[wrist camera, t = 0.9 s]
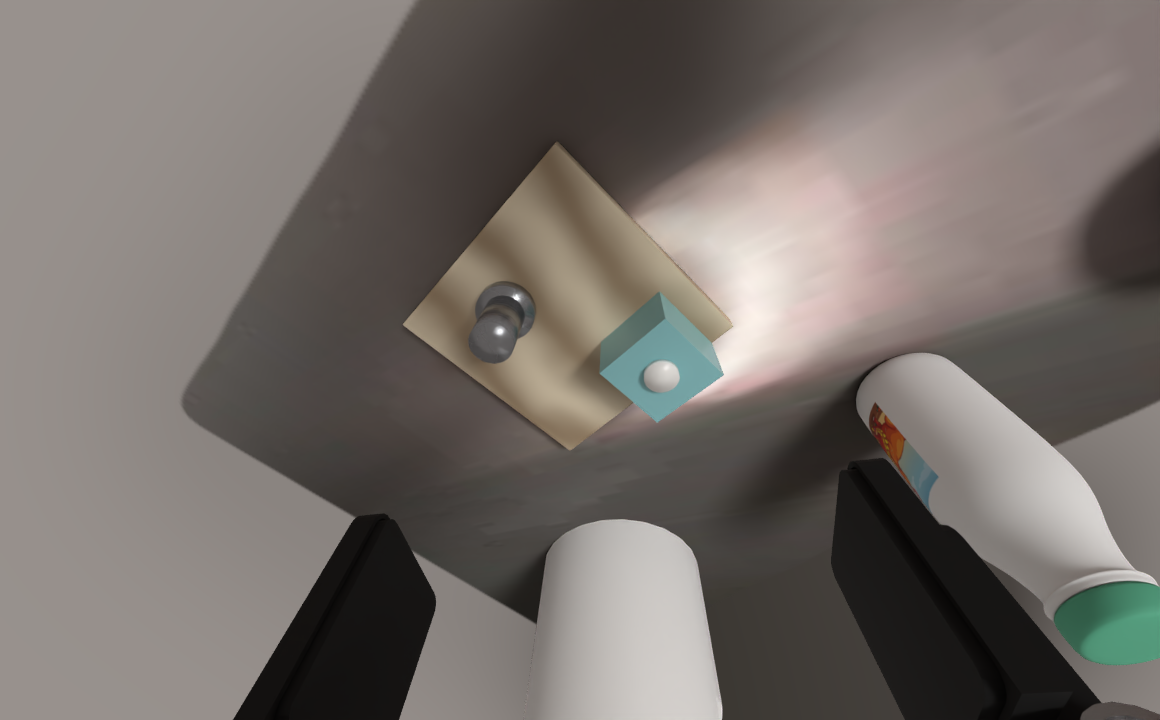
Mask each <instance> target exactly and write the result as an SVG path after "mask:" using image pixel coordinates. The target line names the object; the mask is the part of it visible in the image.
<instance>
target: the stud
mask: <svg viewBox="0 0 1160 720" xmlns="http://www.w3.org/2000/svg"><path fill="white" fill-rule="evenodd" d="M475 315H476V319H477V322H476V324H475V325H474V327H473V329H472V331H471V332H470V334H469V338H468V344H469V348H470V350H471V352H472V353H473V354H474V355H475V356H476V357H477V358H478V359H480V360H482V361H484V362H487V363H492V364H496V363H501V362H504V361H505V360H507V359H508V358H509V357H510V356H511V354H512V352H513V350H514V347H515V344H516V342H517V339H519V338H521V337H523V336H524V335H526V334H527V333H528V332H529V331H530V329H531V328H532V325H533V323H534V320H535V316H536V305H535V301H534V299H533V297H532V296H531V294H530V293H529V292H528V291H527V290H526V289H525V288H523V287H522V286H520V285H518V284H516V283H513V282H509V281H500V282H495V283H493V284H491V285H489V286H488V287H486V288H485V289H484V290H483V292H482V293H481V295H480V297H479V298H478V300H477V302H476V306H475Z"/></svg>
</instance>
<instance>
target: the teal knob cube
mask: <svg viewBox="0 0 1160 720" xmlns="http://www.w3.org/2000/svg"><path fill="white" fill-rule="evenodd" d="M600 374H601V375H602V376H603V377H604V378H605V379H607V380H608V381H609V382H610V383H611V384H613V385H614V386H615V387H616V388H617V389H618V390H620V391H621V392H622V393H623V394H624V395H626V396H627V397H628V398H629V399H630V400H631V401H633V402H634V403H635V404H636V405H637V406H638V407H640V408H641V409H642V410H643V411H644V412H646V413H647V414H648V415H649V416H650V417H651V418H653V419H654V420H655V421H656V422H659V421H660V420H661V419H663V418H664V417H666V416H667V415H668V414H670V413H671V412H673V411H674V410H675V409H677V408H678V407H680V406H681V405H682V404H684V403H685V402H687V401H688V400H689V399H691V398H692V397H694V396H695V395H696V394H698V393H699V392H701V391H702V390H703V389H705V388H706V387H708V386H709V385H710V384H712V383H713V382H715V381H716V380H717V379H719V378H720V377H722V376H723V375H724V374H723V371H722V369H721V366H720V363H719V361H718V358H717V355H716V353H715V350H714V347H713V345H712V343H711V342H710V341H709V340H708V339H707V338H706V337H705V336H704V335H703V334H702V333H701V332H700V331H699V330H698V329H697V328H696V327H695V326H694V325H693V324H692V323H691V322H690V321H689V320H688V319H687V318H686V317H685V316H684V315H683V314H682V313H681V312H680V311H679V310H678V309H677V308H676V307H675V306H674V305H673V304H672V303H671V302H670V301H669V300H668V299H667V298H666V297H665V296H664V295H663V294H662V293H661V292H660V291H659V292H658V293H657V294H656V295H654V296H653V297H652V298H651V299H650V300H649V301H648V302H646V303H645V304H644V305H643V306H642V307H641V308H640V309H638V310H637V311H636V312H635V313H634V314H633V315H631V316H630V317H629V318H628V319H627V320H626V321H625V322H623V323H622V324H621V325H620V326H619V327H618V328H616V329H615V330H614V331H613V332H612V333H611V334H610V335H608V336H607V337H606V338H605V339H604V340H603V341H602V342H601V351H600Z"/></svg>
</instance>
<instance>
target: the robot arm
mask: <svg viewBox="0 0 1160 720" xmlns="http://www.w3.org/2000/svg"><path fill="white" fill-rule="evenodd" d="M831 564H832V568H833V573H834V576H835V578H836V581H837V583H838V584H839V587H840V588H841V591H842V592H843V595H844V597H845V599H846V601H847V603H848V605H849V607H850V609H851V611H852V613H853V615H854V617H855V619H856V621H857V623H858V625H859V627H860V629H861V631H862V633H863V635H864V637H865V639H866V642H867V644H868V646H869V647H870V649H871V652H872V654H873V656H874V658H875V660H876V662H877V664H878V666H879V668H880V670H881V672H882V674H883V676H884V678H885V680H886V682H887V684H888V686H889V688H890V690H891V692H892V694H893V696H894V698H895V700H896V702H897V704H898V707H899V709H900V711H901V713H902V715H903V716H904V718H905V720H1160V714H1157V713H1155V712H1152V711H1149V710H1146V709H1144V708H1141V707H1138V706H1135V705H1129V704H1123V703H1116V702H1107V703H1101V702H1100V701H1099V699H1098V698H1097V697H1096V696H1095V695H1094V693H1093V692H1092V691H1091V690H1090V689H1089V687H1088V686H1087V685H1086V684H1085V683H1084V681H1083V680H1082V679H1081V678H1080V677H1079V675H1078V674H1077V673H1076V672H1075V671H1074V669H1073V668H1072V667H1071V666H1070V665H1069V664H1068V662H1067V661H1066V660H1065V659H1064V657H1063V656H1062V655H1061V654H1060V653H1059V651H1058V650H1057V649H1056V648H1055V647H1054V645H1053V644H1052V643H1051V642H1050V641H1049V640H1048V638H1047V637H1046V636H1045V635H1044V634H1043V632H1042V631H1041V630H1040V629H1039V627H1038V626H1037V625H1036V624H1035V623H1034V621H1033V620H1032V619H1031V618H1030V617H1029V616H1028V614H1027V613H1026V612H1025V611H1024V610H1023V609H1022V607H1021V606H1020V605H1019V604H1018V602H1017V601H1016V600H1015V599H1014V598H1013V596H1012V595H1011V594H1010V593H1009V592H1008V591H1007V589H1006V588H1005V587H1004V586H1003V584H1002V583H1001V582H1000V581H999V580H998V578H997V577H996V576H995V575H994V574H993V573H992V571H991V570H990V569H989V568H988V567H987V565H986V564H985V563H984V562H983V561H982V559H981V558H980V557H979V556H978V554H977V553H976V552H975V551H974V550H973V548H972V547H971V546H970V545H969V544H968V542H967V541H966V540H965V539H964V538H963V537H962V536H961V535H960V534H959V533H958V532H957V531H956V530H955V529H953V528H952V527H950V526H948V525H939V524H938V523H937V521H936V520H935V519H934V518H933V516H932V515H931V514H930V513H929V511H928V510H927V509H926V508H925V506H924V505H923V504H922V503H921V501H920V500H919V499H918V498H917V496H916V495H915V494H914V493H913V491H912V490H911V489H910V488H909V486H908V485H907V484H906V483H905V481H904V480H903V479H902V478H901V476H900V475H899V474H898V473H897V471H896V470H895V469H894V468H893V467H892V465H891V464H890V463H889V462H888V461H887V460H886V459H884V458H878V459H869V460H860V461H852V462H850V463H849V465H848V470H841V472H840V475H839V484H838V494H837V505H836V515H835V525H834V535H833V546H832V556H831ZM435 607H436V598H435V594H434V592H433V590H432V588H431V586H430V584H429V582H428V581H427V579H426V577H425V575H424V573H423V571H422V570H421V567H420V566H419V564H418V562H417V560H416V558H415V556H414V554H413V552H412V551H411V549H410V547H409V545H408V543H407V541H406V539H405V538H404V536H403V534H402V532H401V530H400V528H399V526H398V524H397V523H396V521H395V520H393V519H390V518H389V517H388V515H386V514H374V515H365V516H358V517H357V518H355V519H354V520H353V522H352V523H351V525H350V526H349V528H348V530H347V531H346V533H345V535H344V536H343V538H342V540H341V541H340V543H339V544H338V546H337V548H336V549H335V551H334V553H333V555H332V556H331V558H330V559H329V561H328V563H327V565H326V566H325V568H324V569H323V571H322V573H321V575H320V576H319V578H318V580H317V581H316V583H315V585H314V586H313V588H312V589H311V591H310V593H309V595H308V596H307V598H306V600H305V601H304V603H303V604H302V606H301V608H300V610H299V611H298V613H297V614H296V616H295V618H294V619H293V621H292V623H291V624H290V626H289V628H288V629H287V631H286V633H285V634H284V636H283V638H282V639H281V641H280V643H279V644H278V646H277V648H276V649H275V651H274V653H273V654H272V656H271V658H270V659H269V661H268V663H267V664H266V666H265V668H264V669H263V671H262V673H261V674H260V676H259V677H258V679H257V681H256V682H255V684H254V686H253V687H252V689H251V691H250V692H249V694H248V696H247V697H246V699H245V701H244V703H243V704H242V706H241V708H240V709H239V711H238V712H237V714H236V716H235V717H234V719H233V720H399V718H400V715H401V712H402V709H403V706H404V703H405V700H406V697H407V694H408V691H409V687H410V685H411V682H412V679H413V676H414V673H415V670H416V667H417V663H418V661H419V657H420V654H421V651H422V648H423V645H424V642H425V639H426V636H427V633H428V630H429V627H430V624H431V621H432V618H433V615H434V612H435Z"/></svg>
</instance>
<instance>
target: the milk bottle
mask: <svg viewBox="0 0 1160 720" xmlns="http://www.w3.org/2000/svg"><path fill="white" fill-rule="evenodd" d="M856 407H857V411H858V414H859V416H860V417H861V419H862V420H863V422H864V423H865V425H866V426H867V427H868V429H869V430H870V432H871V433H872V434H873V436H874V437H875V438H876V440H877V441H878V443H879V444H880V445H881V447H882V448H883V449H884V451H885V452H886V453H887V455H888V456H889V458H890V459H891V460H892V462H893V463H894V464H895V466H896V467H897V468H898V470H899V471H900V472H901V474H902V475H903V476H904V478H905V479H906V480H907V482H908V483H909V484H910V486H911V487H912V488H913V490H914V491H915V492H916V494H917V495H918V496H919V498H920V499H921V500H922V502H923V503H924V504H925V505H926V507H927V508H928V509H929V510H930V512H931V513H932V514H933V515H934V517H935V518H936V519H937V520H938V522H939V523H940V524H941V525H948V526H950V527H952V528H953V529H955V530H956V531H957V532H958V533H959V534H960V535H961V536H962V537H963V538H964V539H965V540H966V541H967V542H968V544H969V545H970V546H971V547H972V548H973V550H974V551H975V552H976V553H977V554H978V556H979V557H981V558H982V559H984V560H986V561H988V562H989V563H991V564H992V565H994V566H996V567H997V568H999V569H1001V570H1003V571H1004V572H1006V573H1007V574H1009V575H1010V576H1012V577H1013V578H1014V579H1016V580H1017V581H1018V582H1020V583H1021V584H1022V585H1024V586H1025V587H1026V588H1027V589H1029V590H1030V591H1031V592H1032V593H1033V594H1035V595H1036V596H1037V597H1038V598H1039V599H1040V600H1041V601H1042V603H1043V604H1044V612H1045V614H1046V616H1047V617H1048V618H1049V619H1051V620H1052V621H1053V622H1054V623H1055V625H1056V627H1057V629H1058V630H1059V631H1060V633H1061V634H1062V636H1063V637H1064V638H1065V639H1066V641H1067V642H1068V643H1069V644H1070V645H1071V646H1072V647H1073V649H1074V650H1075V651H1076V652H1077V653H1079V654H1080V655H1081V656H1082V657H1083V658H1085V659H1087V660H1089V661H1092V662H1096V663H1099V664H1106V665H1128V664H1136V663H1142V662H1146V661H1151V660H1154V659H1158V658H1160V587H1159V586H1158V585H1157V583H1156V581H1155V579H1154V578H1152V577H1151V576H1150V575H1147V574H1145V573H1143V572H1139V571H1136V570H1135V569H1134V568H1133V567H1132V566H1131V565H1130V563H1129V562H1128V561H1127V560H1126V558H1125V557H1124V555H1123V554H1122V552H1121V551H1120V550H1119V548H1118V546H1117V544H1116V543H1115V541H1114V539H1113V537H1112V535H1111V533H1110V531H1109V529H1108V527H1107V524H1106V522H1105V519H1104V516H1103V514H1102V511H1101V508H1100V506H1099V504H1098V501H1097V500H1096V497H1095V496H1094V494H1093V492H1092V490H1091V489H1090V487H1089V485H1088V484H1087V483H1086V481H1085V480H1084V479H1083V477H1082V476H1081V475H1080V474H1079V473H1078V472H1077V470H1076V469H1075V468H1074V467H1073V466H1072V465H1071V464H1070V463H1069V462H1068V461H1067V460H1066V459H1065V458H1064V457H1063V456H1062V455H1061V454H1060V453H1059V452H1057V451H1056V450H1055V449H1054V448H1053V447H1052V446H1051V445H1050V444H1049V443H1048V442H1047V441H1045V440H1044V439H1043V438H1042V437H1041V436H1040V435H1038V434H1037V433H1036V432H1035V431H1034V430H1033V429H1031V428H1030V427H1029V426H1028V425H1027V424H1025V423H1024V422H1023V421H1022V420H1021V419H1020V418H1018V417H1017V416H1016V415H1015V414H1014V413H1013V412H1011V411H1010V410H1009V409H1008V408H1007V407H1005V406H1004V405H1003V404H1002V403H1001V402H999V401H998V400H997V399H996V398H995V397H993V396H992V395H991V394H990V393H989V392H987V391H986V390H985V389H984V388H983V387H981V386H980V385H979V384H978V383H977V382H975V381H974V380H973V379H972V378H971V377H969V376H968V375H967V374H966V373H965V372H963V371H962V370H961V369H960V368H958V367H957V366H956V365H955V364H953V363H952V362H951V361H949V360H948V359H946V358H944V357H942V356H939V355H935V354H930V353H919V352H918V353H908V354H904V355H900V356H897V357H894V358H892V359H889V360H887V361H886V362H884V363H882V364H880V365H879V366H877V367H876V368H875V369H873V370H872V371H871V372H870V373H869V374H868V375H867V376H866V377H865V379H864V380H863V382H862V383H861V385H860V387H859V389H858V391H857V397H856Z"/></svg>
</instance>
